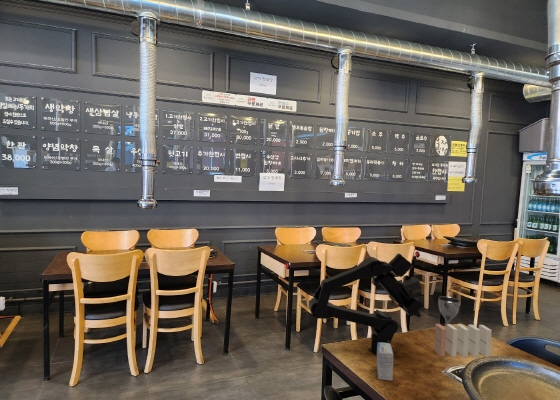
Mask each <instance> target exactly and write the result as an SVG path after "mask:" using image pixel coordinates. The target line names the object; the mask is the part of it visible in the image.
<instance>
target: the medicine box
mask: <svg viewBox="0 0 560 400" xmlns="http://www.w3.org/2000/svg"><path fill="white" fill-rule="evenodd" d="M392 348H393V347H392V343H391V344H389V343H381V342H378V343H377V355H376V364H375V365H376V372H377V379H378V380H382V381H390V382H392V381H393V380H394V379H393V378H394V377H393V376H394V375H393V372H394V351H393V349H392Z"/></svg>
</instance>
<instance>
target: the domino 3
mask: <svg viewBox="0 0 560 400" xmlns="http://www.w3.org/2000/svg"><path fill="white" fill-rule="evenodd" d="M456 325H457V326H456V329H458V336H457V353H458V354H459V355H460V356H461V357H463V358H468V357H469V356H468V354H469V352H468V341H469V329H468V327H466V326H464V325H463V324H461V323H460V324H456Z"/></svg>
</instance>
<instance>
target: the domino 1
mask: <svg viewBox="0 0 560 400" xmlns="http://www.w3.org/2000/svg"><path fill="white" fill-rule="evenodd" d="M434 325H435V327H434V339H433V340H434V342H433V351H434V352H435V353H436V354H437V355H438V356H439V357H446V351H445V347H446V327H444V326H443V325H442V324H440V323H435V324H434Z"/></svg>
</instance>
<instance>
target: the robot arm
mask: <svg viewBox="0 0 560 400" xmlns="http://www.w3.org/2000/svg"><path fill="white" fill-rule="evenodd" d="M413 267H414V266H413V264H412V262H411V261H409V260H407V259H406V258H405V257H404V256H403V255H402V254H401V253H397V254H396V255H395V256H394V257H393V258H392V259H391V260H390V261H389V262H387V261H383V260H379V259H378V258H377V257H374V256H369V257H367V258H366V259H364V260H363V261H361V262H360V263H359V264H358V265H356V266H355V267H353V268H350V269H348V270H345V271H343V272H340V273H338V274H335V275H333V276H331V277H330V276H329V277H328V278H324V279H322V280H321V281H320V284H319V286H318V288H317V289H316V291H315V292H314V295H313V297H312V298H311V299H310V300H309V301H308V309H309V311H310V314H311V316H312V317H313V318H315V319H321V320H324V319H325V320H327V319H329V320H330V319H332V318H333V319H338V320H342V321H347V322H350V323H356V324H359V325H363V326H367V327H370V329H371V332H372V333H373V334H372V335H371V346H370V348H368V349H367V350H368V351H369V352H371V353H372V354H373V355H376V356H377V343H378V342H381V343H389V344H391V345H392V341H393V337H394V335H395V334H396V333H397V332H398V330H399V325H398V322H397V321H396V320H395V318H393V317H392V316H391V315H390V314H389V312H388V311H386V310H385V311H381V310H379V309H376V310H375V312H373V313H370V312H365V311H361V310H356V309H351V308H349V307H345V306H341V305H336V304H333V303H331V302H330V297H331V294H332V292H333V291H335V290H338V289H339V288H342V287H344V286H346V285H349V284H352V283H354V282H356V281H358V280H362V279H369V278H370V279H371V284H372V286H374V287H377V285H380V286H381V287H382V289H384V290H385V292H386V293H387V294H388V297H389V299H390V300H391V301H392V302H393V303H397V306H398V307H399V308H400V309H402V310H403V311H404V313H406V314H407V315H408V316H410V317H413V316H415V317H417V318H420V317H422V314H421V312H420V310H421V309H422V308H423V307H424V305H425V304H424V302H422V300H421V299H419V298H418V297H415V296H413V292H415V291H417V290H422V289H423V287H422V284H421V281H420V280H419V278H417V277H415V276H411V277H410V276H409V275H407V273H408V272H410V270H411V269H413ZM402 277H403V280H402V282H401V281H399V280H398V279H397V278H402Z"/></svg>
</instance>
